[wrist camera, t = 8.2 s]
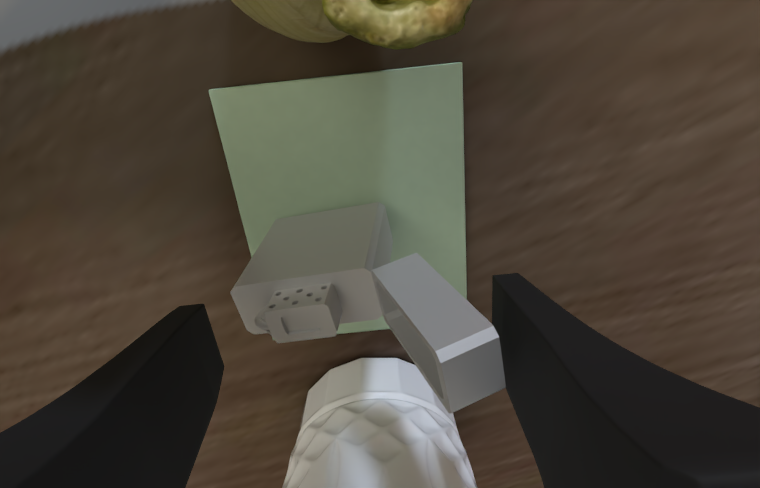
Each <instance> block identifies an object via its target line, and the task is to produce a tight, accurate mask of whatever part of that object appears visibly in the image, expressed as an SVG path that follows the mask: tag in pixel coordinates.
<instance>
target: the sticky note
mask: <svg viewBox="0 0 760 488" xmlns="http://www.w3.org/2000/svg"><path fill="white" fill-rule="evenodd" d="M209 95H210V99H211V103H212V106H213V110H214V114H215V118H216V122H217V126H218V130H219V134H220V137H221V141H222V145H223V149H224V153H225V157H226V161H227V165H228V168H229V172H230V176H231V180H232V184H233V188H234V192H235V196H236V199H237V203H238V207H239V211H240V215H241V219H242V223H243V227H244V230H245V234H246V238H247V242H248V246H249V250H250V254H251V258H252V257H253V255H254V253H255V252H256V250H257V249H258V247H259V245H260V244H261V242H262V241H263V239H264V237H265V236H266V234H267V233H268V231H269V229H270V228H271V226H272V225H273V223H274V221H275V220H276V219H280V218H286V217H292V216H298V215H304V214H310V213H316V212H322V211H328V210H334V209H340V208H346V207H352V206H357V205H363V204H369V203H375V202H380V203H381V204H383V205H385V208H386V213H387V217H388V221H389V225H390V230H391V234H392V238H393V245H392V252H391V259H390V263H391V262H394V261H396V260H399V259H401V258H404V257H406V256H409V255H412V254H414V253H418V254H419V255H420V256H421V257H422V258H423V259H424V260H425V261H426V262H427V263H428V264H429V265H430V266H431V267H432V268H434V269H435V270H436V271H437V272H438V273H439V274H440V275H441V276H442V277H443V278H444V279H445V280H446V281H447V282H448V283H449V284H450V285H451V286H452V287H453V288H455V289H456V290H457V291H458V292H459V293H460V294H461V295H462V296H463V297H464V298H465V299H466V300H467V282H466V230H465V179H464V127H463V75H462V62H455V63H445V64H436V65H427V66H418V67H409V68H400V69H391V70H382V71H372V72H363V73H354V74H345V75H336V76H327V77H318V78H309V79H299V80H290V81H281V82H272V83H263V84H254V85H245V86H236V87H226V88H217V89H210V90H209ZM383 329H390V327H389V326H388V325H387V323H386V321H385V319H384V317H383V315H381V317H380V318H379V319H377V320H369V321H361V322H352V323H344V324H339V327H338V331H337V334H342V333H353V332H363V331H373V330H383ZM272 339H273V340H275V339H274V338H273V337H272Z"/></svg>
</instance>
